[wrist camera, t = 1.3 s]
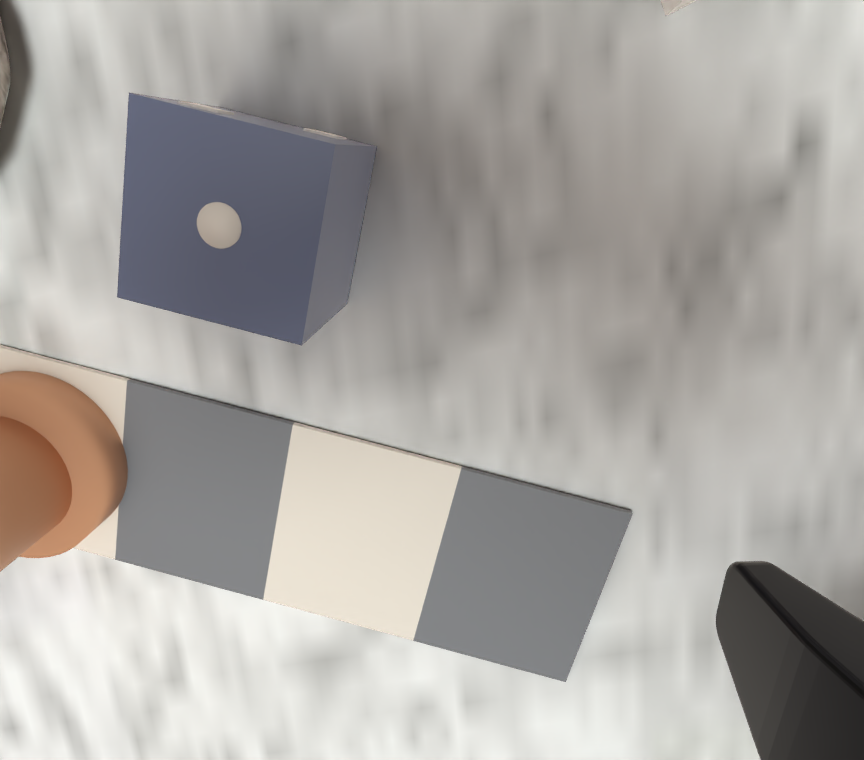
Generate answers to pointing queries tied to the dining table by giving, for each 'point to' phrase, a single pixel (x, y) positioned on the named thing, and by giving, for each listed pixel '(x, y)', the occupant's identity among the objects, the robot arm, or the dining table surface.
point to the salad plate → (3, 72)
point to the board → (348, 525)
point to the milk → (674, 5)
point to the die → (239, 217)
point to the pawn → (54, 466)
